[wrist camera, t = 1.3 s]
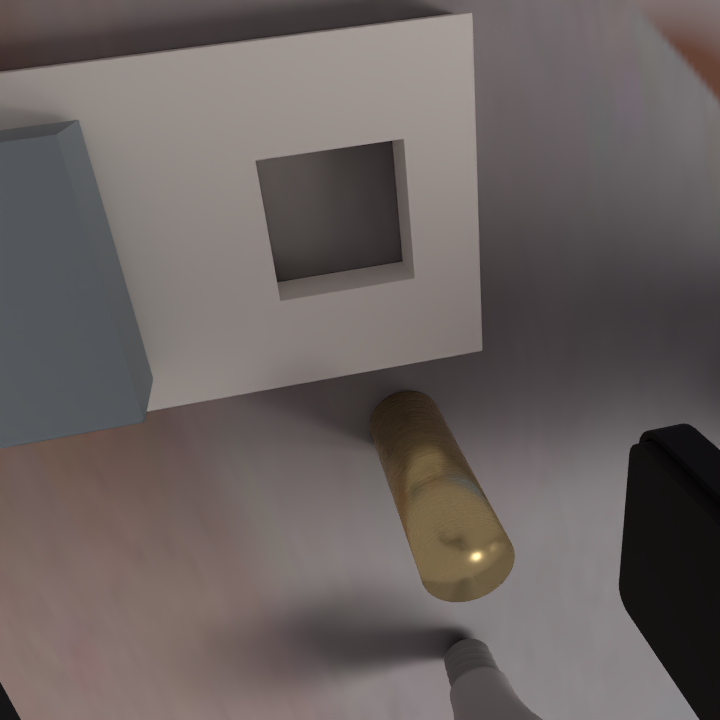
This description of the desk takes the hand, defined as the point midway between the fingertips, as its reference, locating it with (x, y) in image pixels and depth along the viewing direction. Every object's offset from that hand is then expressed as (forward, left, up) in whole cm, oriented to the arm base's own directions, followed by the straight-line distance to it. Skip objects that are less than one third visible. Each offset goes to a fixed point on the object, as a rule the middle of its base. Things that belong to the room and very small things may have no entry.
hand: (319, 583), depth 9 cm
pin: (-5, +10, -18) cm, 21 cm away
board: (+4, 0, -18) cm, 19 cm away
